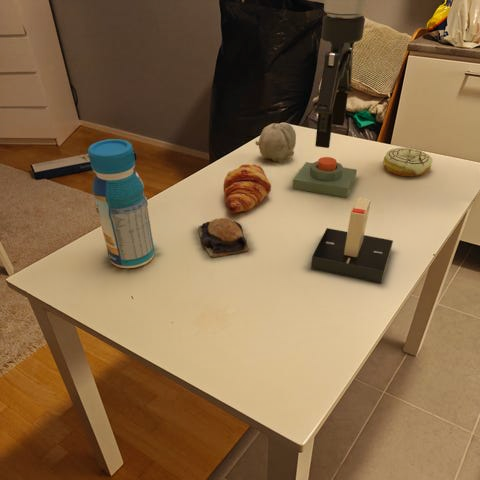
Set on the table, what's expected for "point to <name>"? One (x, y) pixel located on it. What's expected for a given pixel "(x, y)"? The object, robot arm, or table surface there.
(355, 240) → the knob
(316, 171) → the button housing
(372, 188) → the table surface
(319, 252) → the dial panel
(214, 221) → the chocolate dessert
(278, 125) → the grey rounded lump
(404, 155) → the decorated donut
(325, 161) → the button
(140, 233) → the beverage bottle
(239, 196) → the croissant
